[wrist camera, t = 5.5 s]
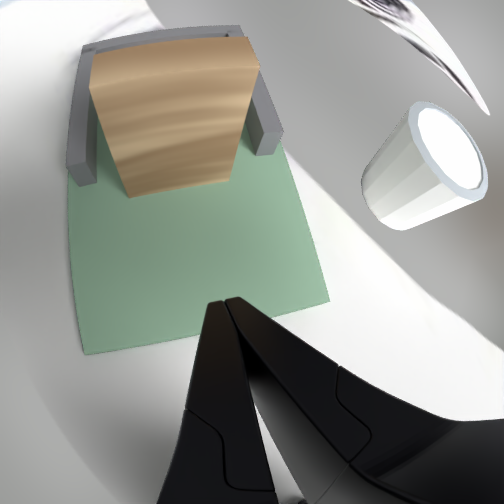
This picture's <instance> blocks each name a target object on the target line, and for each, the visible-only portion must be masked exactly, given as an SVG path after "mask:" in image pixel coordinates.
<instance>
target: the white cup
mask: <svg viewBox="0 0 504 504" xmlns="http://www.w3.org/2000/svg"><path fill="white" fill-rule="evenodd" d="M487 177H488V176H487V170H486V166H485V163H484V160H483V157H482V154H481V152H480V150H479V149H478V147H477V145H476V143H475V141H474V140H473V138H472V136H471V135H470V134H469V133H468V131H467V130H466V129H465V128H464V127H463V125H461V123H460V122H459V121H458V120H457V119H456V118H455V117H453V116H452V115H451V114H450V113H449V112H447V111H446V110H445V109H443V108H441V107H439V106H437V105H435V104H433V103H431V102H420V101H418V102H417V103H415V104H414V105H412V106H411V107H410V108H409V109H408V111H407V112H406V113H405V115H404V116H403V118H402V119H401V120H400V122H399V123H398V125H397V126H396V127H395V129H394V130H393V132H392V133H391V134H390V136H389V137H388V138H387V140H386V141H385V143H384V144H383V145H382V147H381V148H380V149H379V151H378V152H377V153H376V155H375V156H374V157H373V159H372V160H371V162H370V163H369V164H368V165H367V167H366V168H365V170H364V173H363V176H362V179H361V185H362V193H363V196H364V198H365V201H366V203H367V205H368V208H369V209H370V210H371V211H372V213H373V214H374V215H375V216H376V217H377V219H378V220H379V221H381V222H382V223H384V224H385V225H387V226H388V227H390V228H392V229H397V230H406V229H409V228H412V227H414V226H417V225H419V224H422V223H424V222H427V221H429V220H432V219H434V218H437V217H439V216H441V215H444V214H446V213H449V212H451V211H453V210H456V209H459V208H461V207H463V206H466V205H468V204H470V203H473V202H475V201H478V200H480V199H482V198H484V195H485V193H486V191H487V188H488V178H487Z"/></svg>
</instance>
